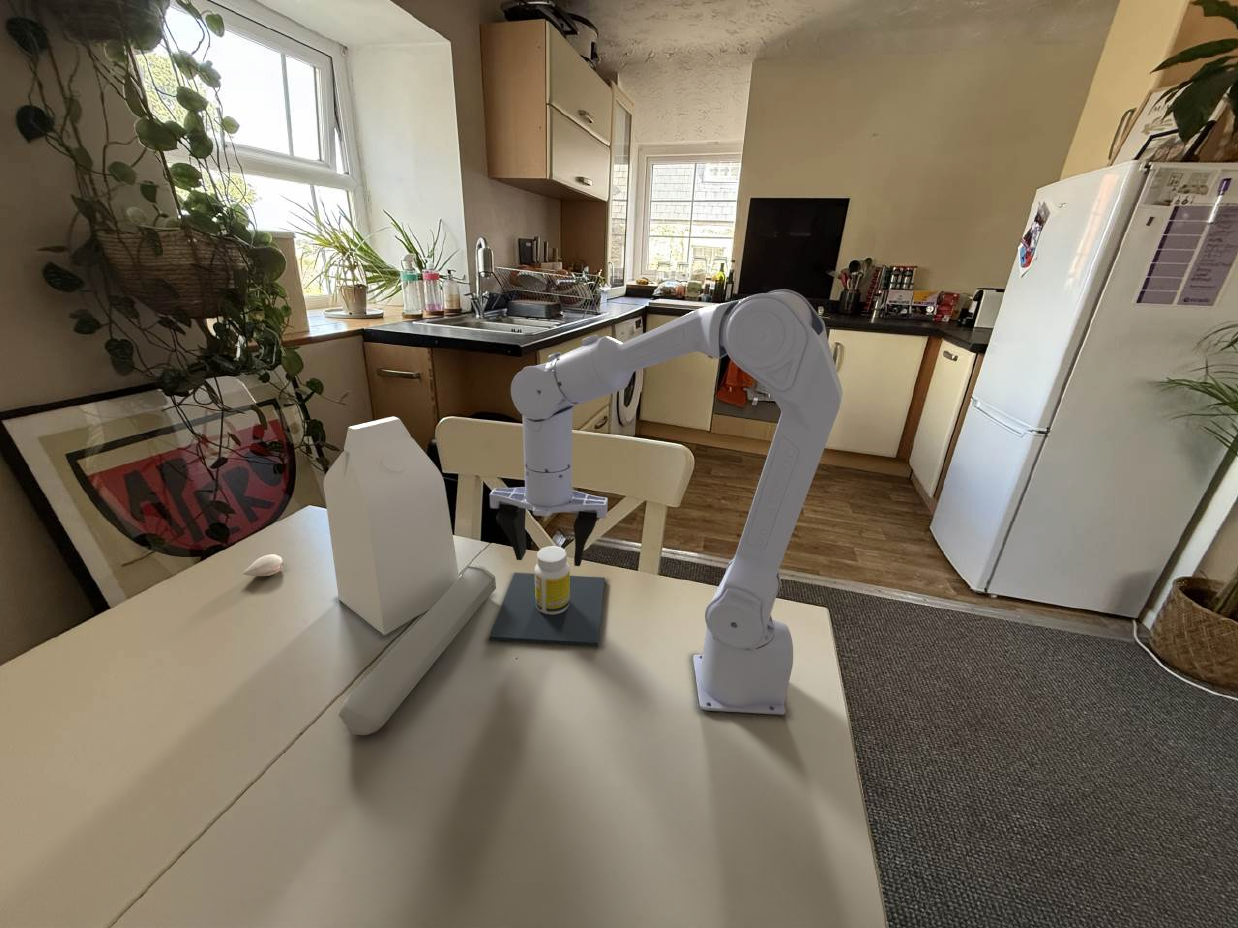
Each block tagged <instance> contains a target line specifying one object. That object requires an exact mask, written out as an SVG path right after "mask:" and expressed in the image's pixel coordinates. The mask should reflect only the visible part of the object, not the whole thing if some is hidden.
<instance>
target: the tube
mask: <svg viewBox="0 0 1238 928" xmlns="http://www.w3.org/2000/svg"><path fill="white" fill-rule="evenodd" d="M495 590H497V582H496V575H494V574H493V573H492V572H491V571H490V570H488V569H487V568H486V567H485V566H482V565H477V564H473V563H469V565H468V566H467V567H466V568H465V570H464V571H463V572H462V573H461V576H459V579H458V580H457V581H456V582H455V583H454V584H453V585H452V586H451V588H450V589H449V590H448V591H447V592H446V593H445V594H444V595H443V596H442V597H441V598H440V599H439V600H438V601H437V602H436V603H435V605H434V606H433V607H432V608H430V609H429V610H427V611H426V613H424V615H423V616H422V617H421V618H420V619H419V620H418V621H417V622H416V623H415V625H413V627H412V628H411V629H410V630H409V631H407V633H406V634H405V635H404V636H403V637H402V638H401V639H400V640H399V641H398V642H397V644H396V645H394V647H392V649H390V651H389V652H388V653H387V654H386V655H385V656H384V657H383V658H382V659H381V661H380V662H379V663H378V664H377V665H376V666H374V668H373V669H372V670H371V671H370V672H369V673H368V674H367V675H366V677H364V678H363V680H362V681H360V683H359V684H358V685H357V686H356V687H355V688H354V689H353V690H352V691H351V693H350V694H348V696H347V697H346V698H345V699H344V701H343V702H342V704H341V708H340V710H339V713H338V716H339V718H340V719H341V721H342V723H344V725H345V727H346V728H347V729H348V731H349V732H350V733H351V735H355V736H369V735H372V734H375V733H377V732H379V730H380V729H381V728H382V727H383V726H384V725H385V724H386V723H387V721H388V720H389V719H390V718H391V717H392V715H393V714H394V713H395V712H396V710H397V709H398V708H399V706H400V705H401V704H402V703H403V701H405V699H406V698H407V697H408V695H409V694H411V692H412V691H413V689H414V688H416V686H417V685H418V683H419V682H420V681H421V680H422V678H423V677H424V676H425V675H426V673H427V672H428V671H429V670H430V669H431V667H432V666H433V665H434V663H435V662H436V661H437V660H438V658H439V657H440V656H441V655H442V654H443V652H444V651H445V650H446V649H447V647H448V646H449V645H450V644H451V643H452V641H453V640H454V639H455V637H456V636H458V634H459V632H460V631H461V630H462V629H463V628H464V627H465V625H466V624H467V623H468V622H469V620H470V619H471V618H472V616H473V615H474V614H475V613H476V611H477V610H478V609H479V608H480V607H481V605H482V604H484V602H485V601H486V599H489V597H490V596H491V595H492V594H493V593H494V592H495Z"/></svg>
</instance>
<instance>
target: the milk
mask: <svg viewBox="0 0 1238 928" xmlns="http://www.w3.org/2000/svg"><path fill="white" fill-rule="evenodd" d="M343 450H344V451H342V452H341V453H340V455H338V457H337V458H336V460H335V461H334V463H332V464H331V466H330V467H329V468H328V470H327V472H326V473H325V474H324V478H323V493H324V499H325V506H326V515H327V522H328V529H329V536H330V543H331V550H332V559H333V567H334V573H335V582H336V588H337V589H336V590H337V596H338V600H339V601H340V602H342V603H343V604H344V605H345V606H347V607H348V608H349V609H351V610H352V611H353V612H355V614H356V615H358V616H359V617H361V619H363V620H365V621H366V622H367V623H368V624H369V625H371V626H372V627H373V628H374V629H376V630H377V631H379V632H380V633H381V634H382V635H383V636H387V635H388V634H389V633H391V632H392V631H395V630H397V628H400V627H401V626H403V625H405V624H407V623H408V622H410V621H412V620H413V619H415V618H416V617H418V616H420V615H422V614H424V613H425V612H428V611H429V610H430V609H431V608H432V607H433V606H434V605H435V603H436V602H437V601H438V600H439V599H440V598H441V597H442V596H443V595H444V594H445V593H446V592H447V591H448V590H449V589H450V588H451V586H452V585H453V584H454V583H455V582H456V581H457V580H458V579H459V578H460V571H459V567H458V559H457V554H456V547H455V542H454V541H455V540H454V534H453V529H452V521H451V516H450V509H449V503H448V498H447V491H446V485H445V481H444V477H443V475H442V472H441V471H440V470H439V468H438V467H437V465H436V464H435V462H433V460H431V458H430V457H429V455H427V453H426V452H425V451H424V450H423V449H422V447H421V446H420V445H419V444H418V442H417V441H416V440H415V439H414V437H412V435H411V434H410V432H409V431H408V429H407V427H406V426H405V425H404V423H403V422H402V420H401V419H400V418H399V417H396V416H394V415H393V416H390V417H384V418H381V419H377V420H373V421H368V422H364V423H359V424H356V425H352V426H348V428H347V432H346V437H345V441H344V445H343Z"/></svg>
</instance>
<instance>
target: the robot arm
mask: <svg viewBox="0 0 1238 928" xmlns="http://www.w3.org/2000/svg"><path fill="white" fill-rule="evenodd" d="M581 343H582V346H579V347H577V348H574V349H572V350H570V351H568V352H565V353H563V354H562V353H561V352H560V351H558V352H554V353H552V354H549V355H548V356H547V359H548V362H544V363H541V364H537V365H529V366H525V367H523V368H522V369H521V370H520V371H519V372H517V373H516V374H515V376H513V379H512V381H511V384H510V396H511V400H512V403H513V405H514V407H515V409H516V410H517V411H518V412H519V413H520V414H521V415H522V416H521V417H522V440H523V441H522V442H523V466H524V467H523V469H524V470H523V471H524V486H520V487H502V488H501V487H494V488H493V489H492V491H491V492H490V493H489V508H490V509H498V513H497V514H496V516H495V519H496V524H498V525H499V527H501V529H502V530H503V531H504V533H505V535H506V536H507V538H508V540H509V542H510V544H511V547H512V550H513V552H514V556H515V560H516V561H522V560H523V558H524V556H525V555H526V553H527V536H526V515H527V510H528V511H532V515H533V516H537V517H549V516H551V515H552V514H557V513H558V514H559V513H567V514H568V513H569V514H577V516H576V518H575V520H574V523H573V533H574V534H573V535H574V547H575V548H574V558H573V564H574V567H580V566H581V564H582V561H583V556H584V551H585V548H586V547H585V546H586V544H587V541H588V540H589V538H590V536H591V535H592V533H593V532H594V529H595V527H596V524H597V521H598V519H605V520H606V517H607V514H608V503H609V501H608V500H609V498H608V497H604V496H597V495H594V494H593V495H592V494H589V493H586V492H582V491H578V490H574V489H573V419H574V415H575V414H574V410H575V407H577V406H580V405H583V404H587V403H588V402H589V403H590V402H592V401H594V400H597V399H601V398H603V397H606V396H609V395H612V394H614V393H617V392H620V391H623V390H625V389H626V388H627V387H628V385H629V383H630V382H631V379H632V376H633V374H634V373H635V372H637V371H640V370H643V369H646V368H650V367H653V366H655V365H658V364H661V363H664V362H667V361H670V360H673V359H676V358H679V357H682V356H686V355H688V354H691V353H694V352H699V353H702V354H704V355H706V356H709V357H710V358H712V359H716V360H720V359H722V358H724V357H726V356H727V355H728V357H729V359H730V360H731V361H732V362H733V363H734V365H736V366H737V367H738V368H739V369H741V370H742V371H743V372H745V373H746V374H747V375H748V376H750V377H751V378H753V379H754V380H755V381H757V382H758V383H760V384H762V386H764V388H765V389H766V391H767V392H768V394H769V395H770V396H771V398H772V400H774V402H775V403H776V405H777V407H778V408H779V409H780V417H779V419H778V423H777V425H776V429H775V432H774V434H773V438H772V441H771V443H770V447H769V450H768V453H767V457H766V459H765V463H764V466H763V468H762V472H761V476H760V477H759V481H758V484H757V487H756V491H755V493H754V496H753V500H752V502H751V505H750V508H749V509H750V510H749V513H748V515H747V518H746V521H745V524H744V528H743V529H742V534H741V537H740V540H739V543H738V546H737V549H736V551H735V554H734V557H733V558H732V559H731V560H730V561H729V563H728V564H727V566H726V569H725V572H724V575H723V577H722V578H721V580H720V583H719V585H718V587H717V589H716V591H715V593H714V595H713V598H711V600H710V601H709V602H708V604H707V605H706V607H705V611H704V620H705V624H706V627H705V634H704V635H705V636H704V642H703V647H702V654H694V655H693V656H692V657H693V658H692V661H693V668H694V675H695V676H694V677H695V682H696V690H697V696H698V705H699V708H700V709H701V710H703V711H712V712H727V713H729V712H731V713H747V714H763V715H764V714H765V715H780V716H781V715H782V716H783V715H785V713H786V707H785V701H786V696H787V692H788V688H789V683H790V680H791V675H792V671H793V665H794V644H793V637H792V634H791V631H790V629H789V626H788V625H787V624H786V623H785V622H782V621H779V620H775V619H773V617H772V611H773V609H774V605H775V602H776V599H777V597H778V596H777V595H778V594H779V593H780V589H781V587H782V586H781V585H782V581H781V579H782V578H781V575H780V568H781V565H782V562H783V560H784V557H785V554H786V551H787V548H788V546H789V544H790V540H791V538H792V536H793V532H794V530H795V528H796V525H797V522H798V519H799V517H800V514H801V511H802V510H803V509H802V508H803V506H804V505H805V501H806V498H807V495H808V493H809V490H810V487H811V485H812V482H813V479H814V477H815V475H816V473H817V469H818V466H819V464H820V461H821V458H822V455H823V453H824V450H825V448H826V445H827V442H828V440H829V437H830V434H831V432H832V430H833V427H834V424H835V421H836V420H837V419H836V418H837V416H838V413H839V411H840V408H841V404H842V399H843V393H844V392H843V388H842V387H843V386H842V384H841V381H840V377H839V374H838V370H837V367H836V363H835V360H834V356H833V353H832V349H831V346H830V343H829V339H828V335H827V328H826V324H825V321H824V320H823V319H822V317H821V316H820V315H819V314H818V312H817V311H816V309H814V307H813V306H812V304H811V303H810V301H808V299H807V298H806V297H805V296H804V295H802V294H800V293H799V292H796V291H794V290H792V289H785V288H784V289H781V288H780V289H774V290H770V291H768V292H766V293H764V292H762V293H756V294H752V295H749V296H747V297H746V298H745V297H744V298H741V299H738V300H733V301H728V302H723V303H719V304H715V305H710V306H705V307H702V308H701V307H700V308H698V309H695V310H693V311H691V312H689V313H686V314H685V315H682V316H680V317H678V318H675V319H674V320H671V321H669V322H666V323H664V324H662V325H660V326H657V327H655V328H653V329H651V330H649V331H646V332H644V333H642V334H640V335H638V336H636V337H634V338H631V339H629V340H627V341H625V342H621V341H619V340H617V339H615V338H613V337H611V336H603V337H599V335H598V334H593V335H589V336H587V337H585V338H583V339H581Z"/></svg>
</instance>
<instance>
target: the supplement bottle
mask: <svg viewBox="0 0 1238 928" xmlns="http://www.w3.org/2000/svg"><path fill="white" fill-rule="evenodd" d="M567 556H568V555H567V551H566V549H564V548H563V547H560V546H556V545H550V546H545V547H542V548H540V549H538V551H537V553H536V564H535V565H534V574H535V597H536V607H537V609H538V610H539V611H540V612H542V613H545V614H550V615H554V614H559V613H562V612H563V611H565V610H566V609H567V608H568V606H569V603H570V576H571V571H570V565H569V563H568V557H567Z"/></svg>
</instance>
